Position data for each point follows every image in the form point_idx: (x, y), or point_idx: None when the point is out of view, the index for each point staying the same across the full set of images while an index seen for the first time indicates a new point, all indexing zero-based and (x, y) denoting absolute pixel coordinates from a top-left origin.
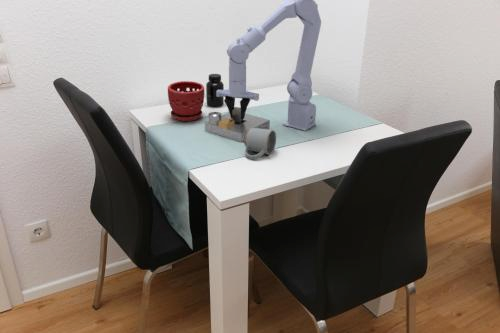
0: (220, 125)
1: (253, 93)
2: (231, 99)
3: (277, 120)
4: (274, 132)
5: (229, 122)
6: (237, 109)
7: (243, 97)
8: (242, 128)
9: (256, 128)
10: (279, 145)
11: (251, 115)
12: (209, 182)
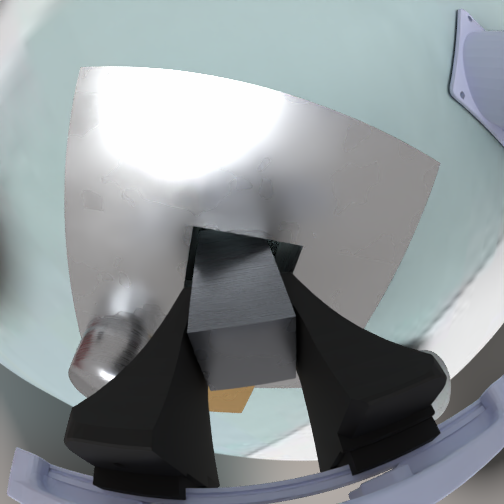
0: None
1: (496, 445)
2: (203, 483)
3: (407, 23)
4: (448, 387)
5: (245, 401)
6: (254, 373)
7: (358, 479)
8: None
9: None
10: (438, 308)
11: (295, 104)
12: (297, 457)
